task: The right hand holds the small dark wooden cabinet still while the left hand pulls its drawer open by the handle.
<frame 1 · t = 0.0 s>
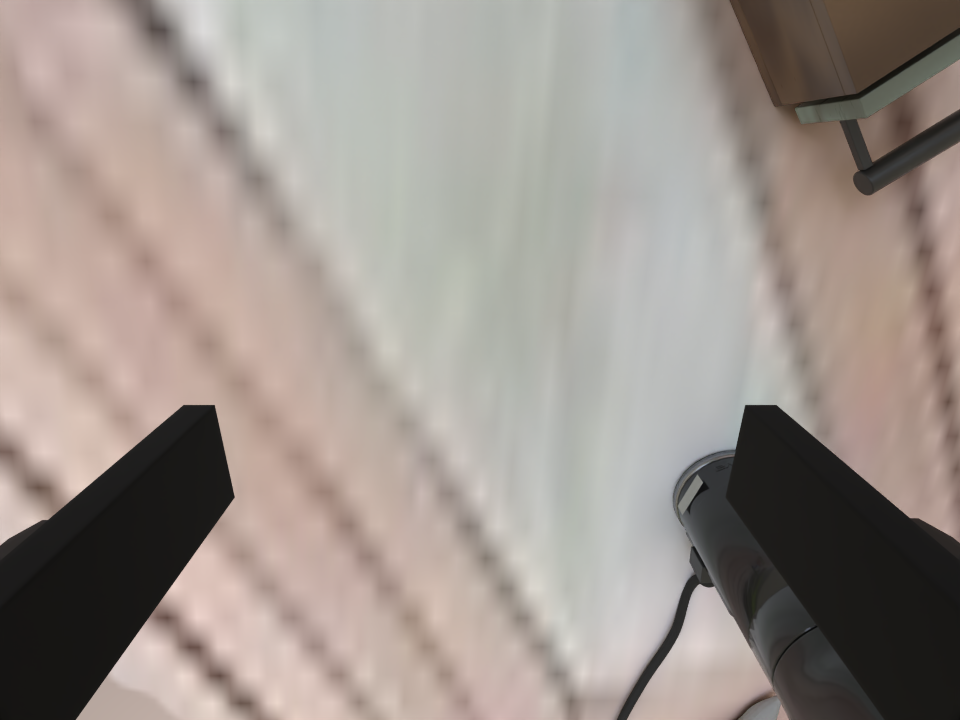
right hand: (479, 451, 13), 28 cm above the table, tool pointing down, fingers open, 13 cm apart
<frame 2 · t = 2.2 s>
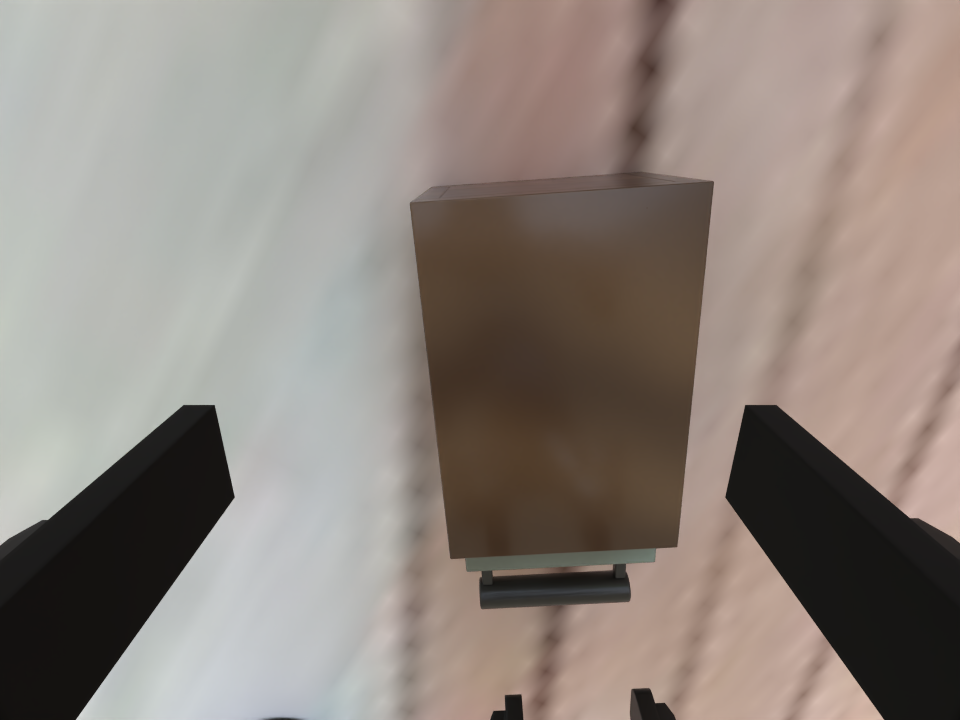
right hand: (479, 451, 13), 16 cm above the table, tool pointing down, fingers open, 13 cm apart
cabinet: (539, 331, 28), on the table
drawer: (550, 452, 27), point 4 cm above the table, slide at 0.6 cm
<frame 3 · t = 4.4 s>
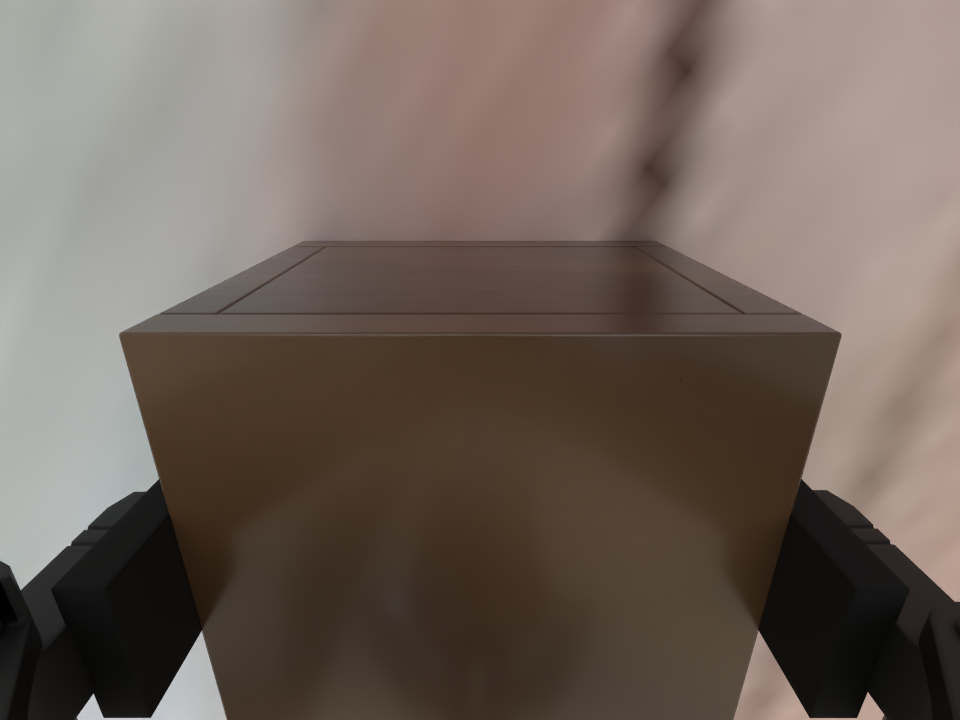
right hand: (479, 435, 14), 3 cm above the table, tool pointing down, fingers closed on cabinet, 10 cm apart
cabinet: (479, 470, 18), on the table, touching right hand
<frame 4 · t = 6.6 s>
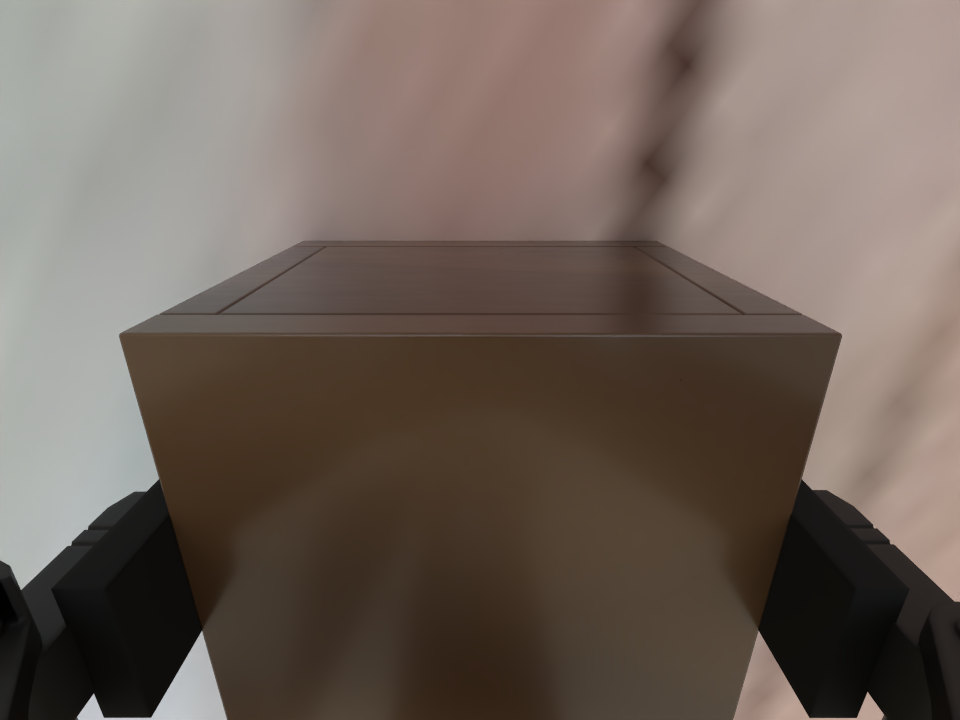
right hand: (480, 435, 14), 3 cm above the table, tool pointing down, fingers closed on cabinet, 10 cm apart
cabinet: (479, 469, 18), on the table, touching right hand
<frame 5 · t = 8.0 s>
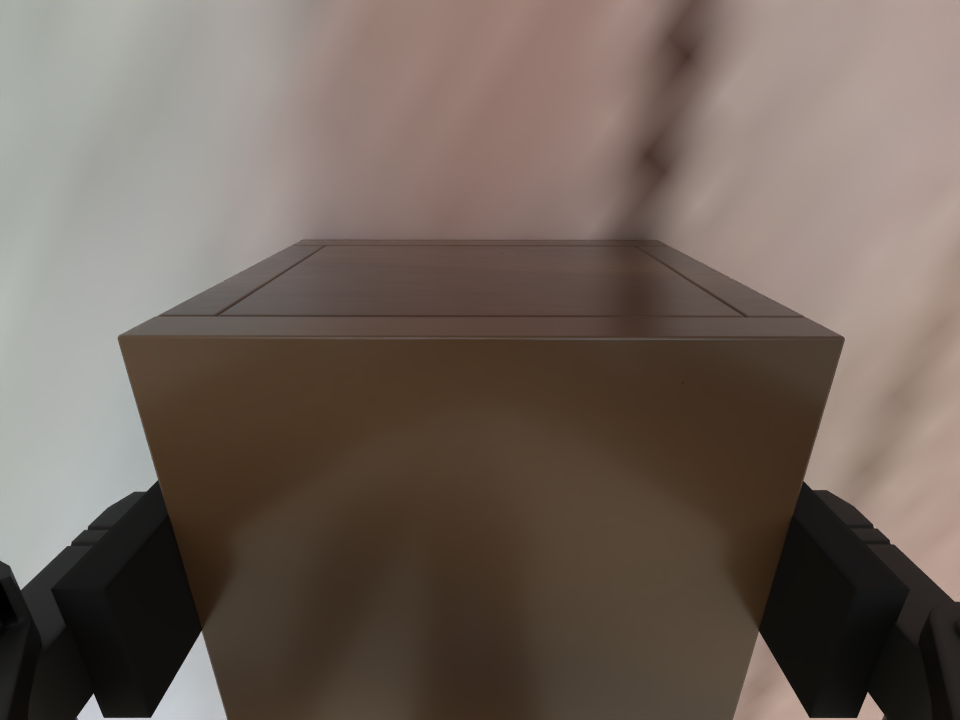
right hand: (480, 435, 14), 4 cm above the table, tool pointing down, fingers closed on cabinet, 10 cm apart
cabinet: (479, 468, 18), on the table, touching right hand
when the right hand's fingers open (4 cm above the table, at t = 9.5 s): cabinet stays where it is, on the table.
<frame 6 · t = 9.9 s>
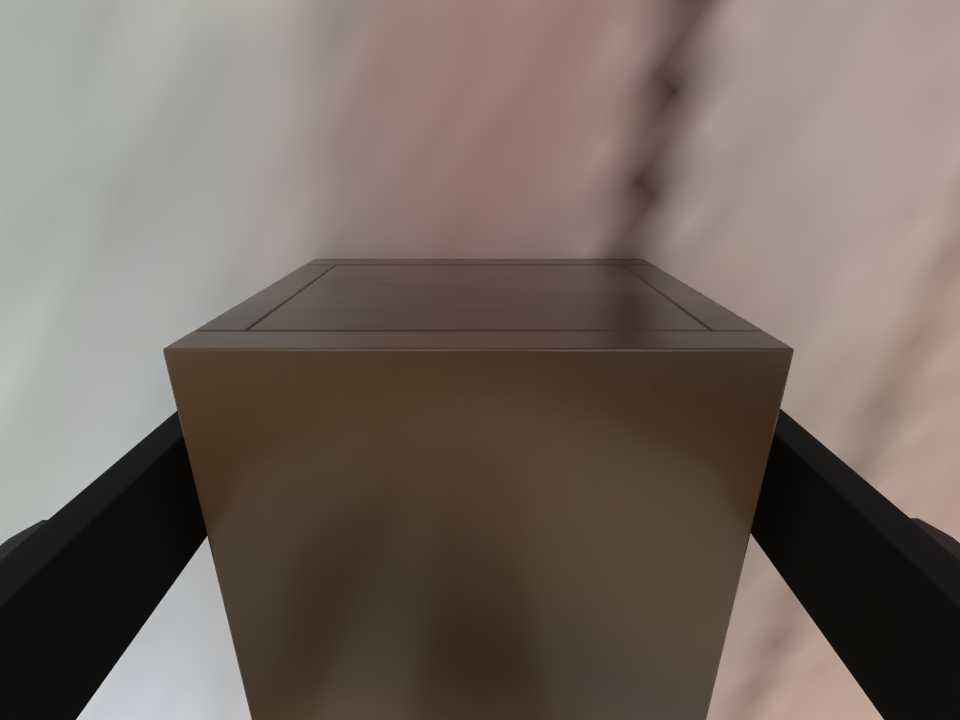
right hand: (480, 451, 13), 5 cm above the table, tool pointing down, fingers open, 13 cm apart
cabinet: (479, 473, 19), on the table
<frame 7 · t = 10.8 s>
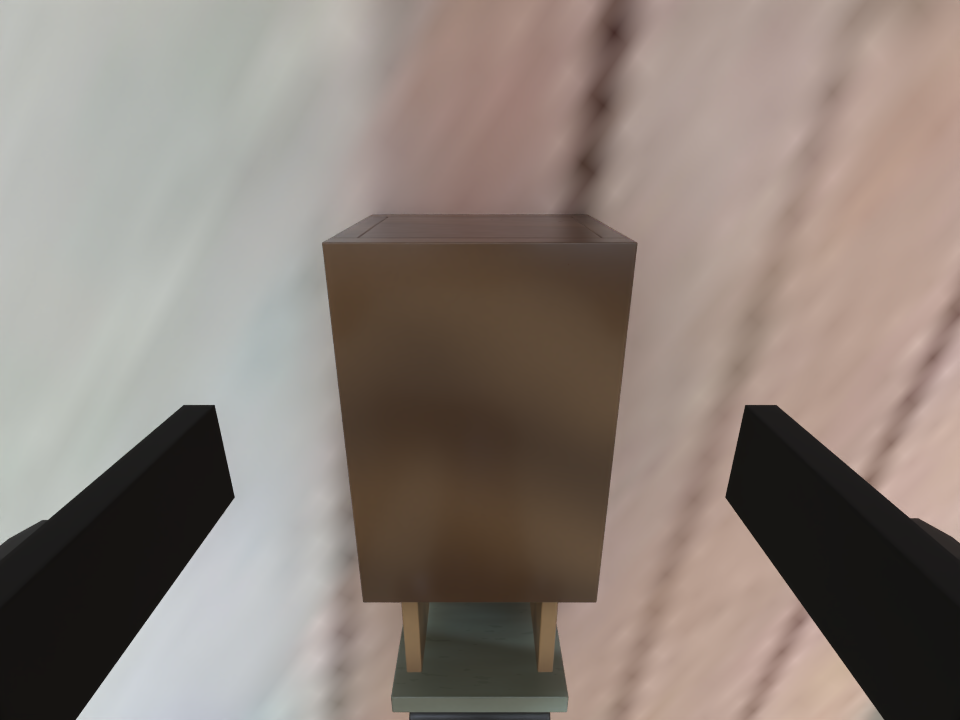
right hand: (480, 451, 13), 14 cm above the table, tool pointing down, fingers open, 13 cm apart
cabinet: (479, 367, 28), on the table
drawer: (479, 599, 29), point 4 cm above the table, slide at 7.7 cm
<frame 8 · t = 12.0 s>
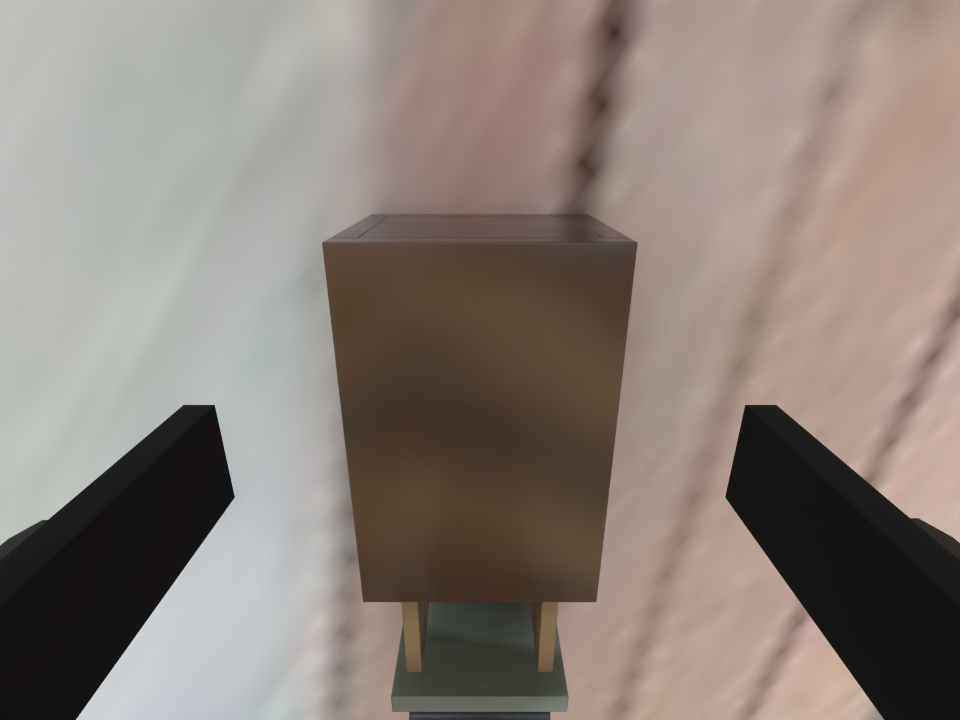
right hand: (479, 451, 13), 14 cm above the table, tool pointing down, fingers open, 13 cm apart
cabinet: (479, 366, 28), on the table
drawer: (479, 599, 29), point 4 cm above the table, slide at 7.7 cm
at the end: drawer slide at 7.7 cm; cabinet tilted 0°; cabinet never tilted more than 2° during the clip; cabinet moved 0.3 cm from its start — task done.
